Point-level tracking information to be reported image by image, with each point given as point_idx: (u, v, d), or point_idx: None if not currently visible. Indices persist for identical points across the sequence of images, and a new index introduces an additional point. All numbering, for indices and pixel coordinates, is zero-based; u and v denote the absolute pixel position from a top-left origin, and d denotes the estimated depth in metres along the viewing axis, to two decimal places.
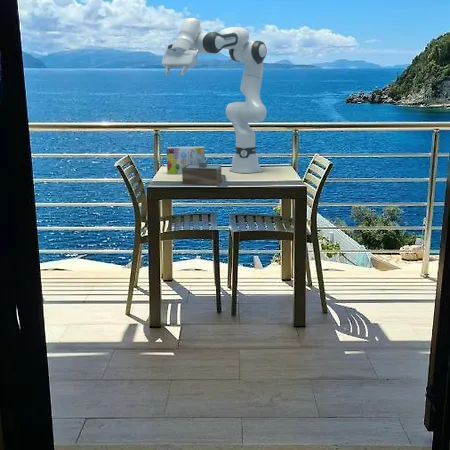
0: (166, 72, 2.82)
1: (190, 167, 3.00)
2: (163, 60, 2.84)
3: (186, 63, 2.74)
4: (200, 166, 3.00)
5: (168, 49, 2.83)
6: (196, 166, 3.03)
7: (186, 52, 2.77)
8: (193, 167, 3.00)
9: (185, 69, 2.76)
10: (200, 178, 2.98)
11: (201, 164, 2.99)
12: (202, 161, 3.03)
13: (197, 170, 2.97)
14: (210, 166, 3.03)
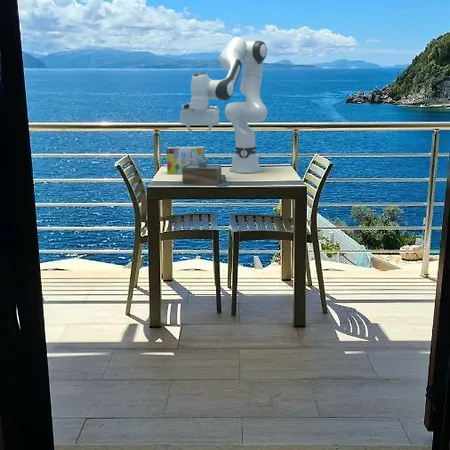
0: (189, 131, 2.96)
1: (190, 167, 3.00)
2: (181, 119, 2.95)
3: (212, 124, 2.92)
4: (200, 166, 3.00)
5: (185, 109, 2.92)
6: (196, 166, 3.03)
7: (207, 112, 2.91)
8: (193, 167, 3.00)
9: (211, 128, 2.94)
10: (200, 178, 2.98)
11: (201, 164, 2.99)
12: (202, 161, 3.03)
13: (197, 170, 2.97)
14: (210, 166, 3.03)
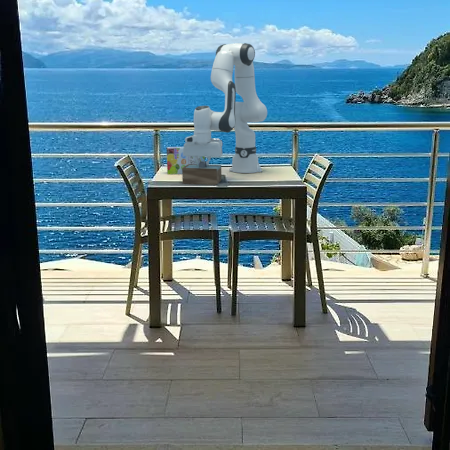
0: (197, 163, 3.01)
1: (190, 167, 3.00)
2: (185, 152, 3.00)
3: (215, 156, 2.97)
4: (200, 166, 3.00)
5: (188, 142, 2.97)
6: (196, 166, 3.03)
7: (211, 144, 2.96)
8: (193, 167, 3.00)
9: (209, 159, 3.00)
10: (200, 178, 2.98)
11: (201, 164, 2.99)
12: (202, 161, 3.03)
13: (197, 170, 2.97)
14: (210, 166, 3.03)
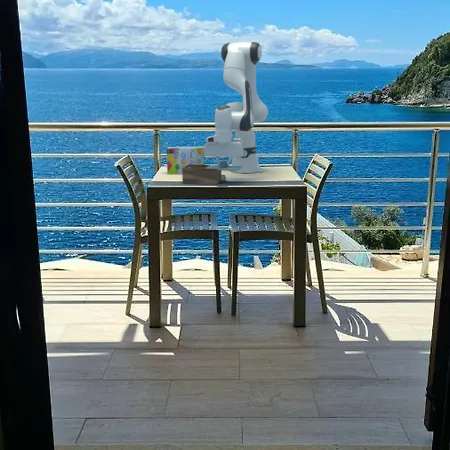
0: (218, 163, 2.99)
1: (211, 167, 2.98)
2: (206, 152, 2.98)
3: (236, 156, 2.95)
4: (221, 166, 2.98)
5: (209, 142, 2.95)
6: (217, 166, 3.01)
7: (232, 144, 2.94)
8: (214, 167, 2.98)
9: (230, 159, 2.98)
10: (200, 178, 2.98)
11: (222, 164, 2.97)
12: (223, 161, 3.01)
13: (197, 170, 2.97)
14: (231, 166, 3.01)
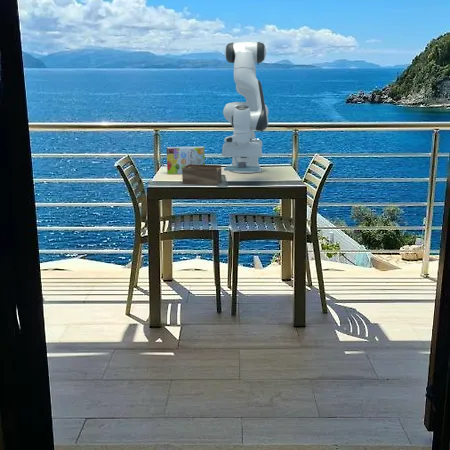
0: (236, 164, 2.97)
1: (229, 168, 2.96)
2: (224, 152, 2.96)
3: (255, 156, 2.93)
4: (239, 167, 2.96)
5: (227, 142, 2.93)
6: (235, 167, 2.99)
7: (250, 145, 2.92)
8: (232, 168, 2.96)
9: (249, 160, 2.96)
10: (200, 178, 2.98)
11: (240, 164, 2.95)
12: None
13: (197, 170, 2.97)
14: (249, 167, 2.99)
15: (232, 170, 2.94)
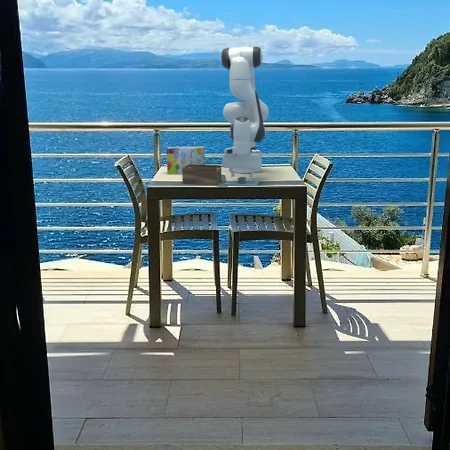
0: (232, 175, 2.99)
1: (229, 183, 2.98)
2: (224, 163, 2.97)
3: (255, 167, 2.95)
4: (239, 182, 2.98)
5: (228, 153, 2.95)
6: (235, 182, 3.01)
7: (250, 156, 2.94)
8: (232, 183, 2.98)
9: (253, 171, 2.97)
10: (200, 178, 2.98)
11: (240, 180, 2.97)
12: (241, 177, 3.01)
13: (197, 170, 2.97)
14: (249, 182, 3.01)
15: None
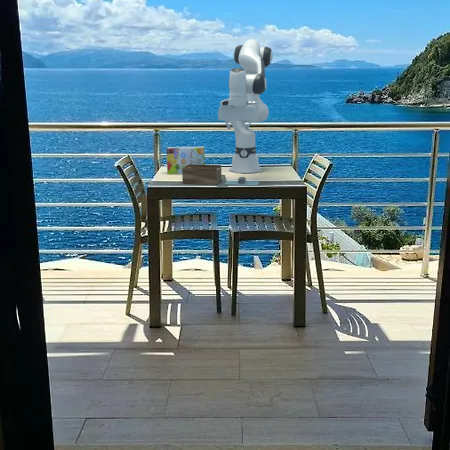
0: (228, 127, 2.96)
1: (229, 183, 2.98)
2: (220, 116, 2.94)
3: (251, 119, 2.92)
4: (239, 182, 2.98)
5: (223, 105, 2.91)
6: (235, 182, 3.01)
7: (247, 108, 2.90)
8: (232, 183, 2.98)
9: (250, 123, 2.94)
10: (200, 178, 2.98)
11: (240, 180, 2.97)
12: (241, 177, 3.01)
13: (197, 170, 2.97)
14: (249, 182, 3.01)
15: None
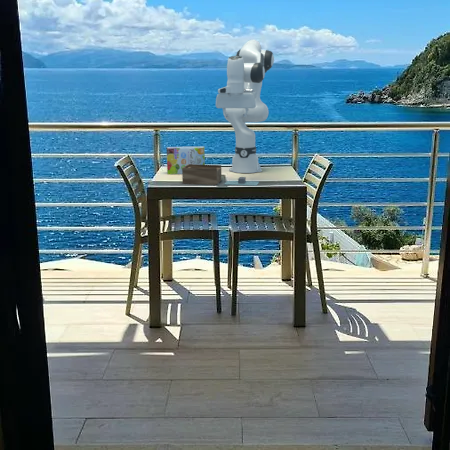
0: (225, 115, 2.96)
1: (229, 183, 2.98)
2: (218, 103, 2.94)
3: (249, 107, 2.92)
4: (239, 182, 2.98)
5: (221, 93, 2.91)
6: (235, 182, 3.01)
7: (244, 95, 2.91)
8: (232, 183, 2.98)
9: (247, 111, 2.94)
10: (200, 178, 2.98)
11: (240, 180, 2.97)
12: (241, 177, 3.01)
13: (197, 170, 2.97)
14: (249, 182, 3.01)
15: None
